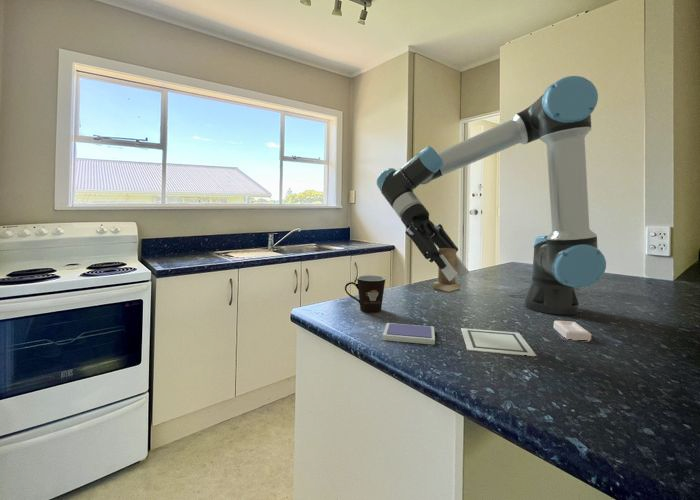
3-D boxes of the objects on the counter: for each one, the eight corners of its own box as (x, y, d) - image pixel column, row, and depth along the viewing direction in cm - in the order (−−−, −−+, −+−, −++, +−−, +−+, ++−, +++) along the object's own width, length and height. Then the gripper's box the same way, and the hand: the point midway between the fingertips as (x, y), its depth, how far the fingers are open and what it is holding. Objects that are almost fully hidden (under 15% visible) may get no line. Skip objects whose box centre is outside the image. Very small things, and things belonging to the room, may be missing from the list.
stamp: (432, 289, 91) (433, 249, 90) (444, 287, 94) (445, 247, 93) (448, 293, 87) (449, 250, 86) (460, 290, 90) (461, 249, 89)
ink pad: (433, 331, 87) (433, 325, 87) (434, 344, 78) (434, 338, 78) (386, 327, 90) (386, 322, 89) (382, 339, 81) (382, 334, 81)
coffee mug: (387, 307, 107) (388, 276, 106) (380, 315, 99) (381, 281, 98) (352, 304, 111) (353, 273, 110) (343, 311, 103) (343, 278, 102)
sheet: (518, 333, 86) (519, 332, 86) (536, 356, 72) (536, 355, 72) (460, 328, 89) (461, 327, 89) (467, 350, 75) (467, 348, 75)
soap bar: (575, 330, 90) (576, 321, 90) (591, 343, 81) (592, 333, 81) (552, 328, 91) (553, 319, 91) (566, 341, 82) (567, 331, 82)
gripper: (423, 220, 106) (469, 280, 95) (382, 221, 95) (428, 289, 84) (438, 202, 101) (488, 263, 90) (396, 202, 91) (447, 271, 79)
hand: (459, 276), depth 87 cm, fingers closed on stamp, 4 cm apart
